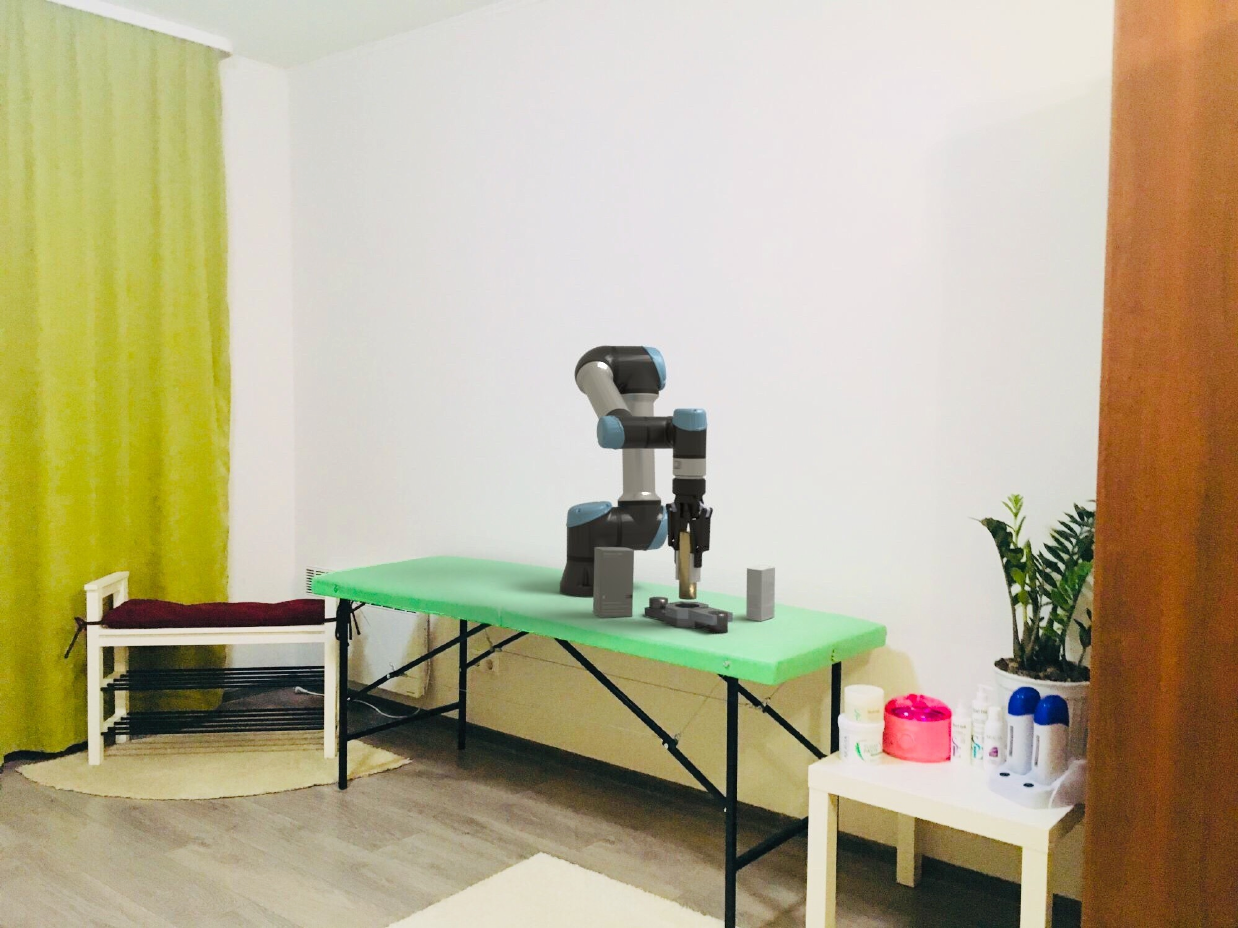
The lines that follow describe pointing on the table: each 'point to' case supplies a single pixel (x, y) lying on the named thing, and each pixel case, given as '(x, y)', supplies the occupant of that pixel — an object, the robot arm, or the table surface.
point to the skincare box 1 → (613, 582)
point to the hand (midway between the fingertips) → (687, 580)
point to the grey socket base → (688, 614)
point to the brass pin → (685, 568)
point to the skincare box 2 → (760, 593)
